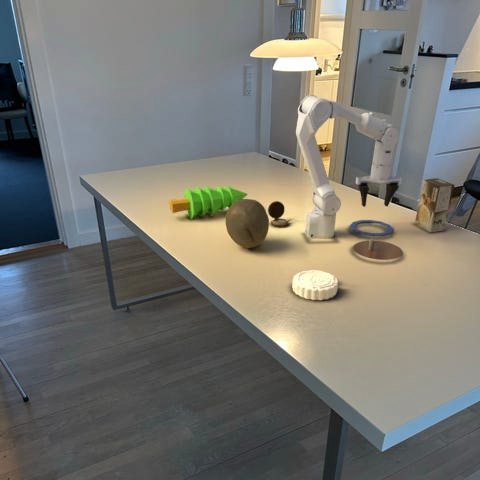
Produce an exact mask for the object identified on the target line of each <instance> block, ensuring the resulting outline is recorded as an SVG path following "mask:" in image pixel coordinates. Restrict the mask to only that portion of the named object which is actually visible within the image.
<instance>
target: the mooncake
mask: <svg viewBox="0 0 480 480" xmlns="http://www.w3.org/2000/svg"><path fill="white" fill-rule="evenodd" d="M291 285H292V291H293V292H294V294H295V295H297V296H299V297H300V298H304V299H306V300H311V301H323V300H329V299H331V298H334V296H336V295H337V292H338V287H339V281H338V278H337V277H336V276H335V275H334V274H331V273H329V272H325V271H323V270H320V269H310V270H303V271H300V272H297V274H295V275H293V278H292V284H291Z"/></svg>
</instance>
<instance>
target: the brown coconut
mask: <svg viewBox="0 0 480 480" xmlns="http://www.w3.org/2000/svg"><path fill="white" fill-rule="evenodd" d="M225 228H226V231H227V232H226V233H227V234H228V235H229V237H230V238H231V240H232V241H233V242H234V243H235V244H237V245H238V246H240V247H242V248H244V249H253V248H256V247H259V246H260V245H262V244H263V242H264V241H265V240H266V238H267V235H268V233H269V229H270V219H269V214H268V212H267V211H266V209H265V206H264V205H263V204H262V203H261V202H259V201H258V200H257V199H250V198H243V199H241V200H238V201H236V202H235V203H233V204H232V205H231V207H230V208H229V207H228V210H227V212H226V213H225Z"/></svg>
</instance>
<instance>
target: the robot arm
mask: <svg viewBox="0 0 480 480" xmlns="http://www.w3.org/2000/svg"><path fill="white" fill-rule="evenodd" d="M297 115H298V117H297V122H296V129H295V136H296V139H297V142H298V145H299V148H300V151H301V154H302V158H303V160H304V163H305V167H306V170H307V172H308V175H309V179H310V181H311V185H312V187H311V192H312V195H311V196H312V198H311V200H312V203H313V205H314V207H313V208H314V209H313V211H307V212H306V216H305V227H304V233H305V235H306V237H307V239H326V240H327V239H331V238H333V237H334V236H335V227H336V219H337V213H338V212H339V211H340V209H341V206H342V202H341V199H340V197H339V196H337V194H336V193H335V190H334V188H333V187H332V184H331V183H330V180H329V178H328V174H327V170H326V167H325V164H324V161H323V157H322V154H321V151H320V148H319V144H318V141H317V138H316V134H317V132H318V131H319V129H320V128H321V127H322V126H323V125H324V124H325V123H326V122H327V121H328V120H329V119H330V120H333V119H335V118H339V119H341V120H344V121H345V122H348V123H351V124H352V125H354V126H355V129H356V131H357V132H358V133H360V134H362V135H364V136H366V137H369V138H371V139H372V140H374V141H375V142H374V150H373V154H372V155H373V156H372V163H371V169H370V174H369V175H367V176H356V177H355V184H356V185H357V186H358V189H359V193H360V198H361V199H360V201H361V206H362V207H364V208H366V206H367V198H368V194H369V190H370V187H369V185H386V187H385V195H384V200H383V205H384V206H385V207H389V205H390V203H391V200H392V198H393V197H394V195H395V193H396V192H397V191H398V190H399V188H400V186H399V185H402V182H403V178H402V176H391V175H390V170H391V166H392V165H391V164H392V160H393V152H394V149H395V145H396V143H398V141H399V139H400V136H401V135H400V133H399V129H398V127H397V126H395V125H394V124H391V123H387V122H388V120H387V119H384V118H383V119H381V118H379V117H377V116H376V114H375V113H373V112H372V111H370V112H369V113H368V112H364V113H361V114H360V113H358V112H356V111H354V110H352V109H351V108H350V107H347V106H346V105H343V104H341V103H340V102H337V101H334V100H330V99H327V98H324V97H318V96H317V95H315V94H308V95H307V96H305V97H304V98H303V99H302V100H301V102H300V104H299V106H298V108H297Z"/></svg>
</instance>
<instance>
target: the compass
mask: <svg viewBox="0 0 480 480" xmlns="http://www.w3.org/2000/svg"><path fill="white" fill-rule="evenodd" d="M285 211H286V210H285V205H284V204H283V202H281V201H279V200H275V201H273V202H271V203H270V204H269V205H268V207H267V214H268V216H269V217H270V218H271V219H272V220H271V221H270V225H271V226H273V227H274V228H275V227H276V228H284V227H287V226H288V225H289V223H290V222H291V223H293V222H294V221H293V220H292V219H288V220H287V219H285V218H282V216H283V215H284V214H285Z"/></svg>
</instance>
